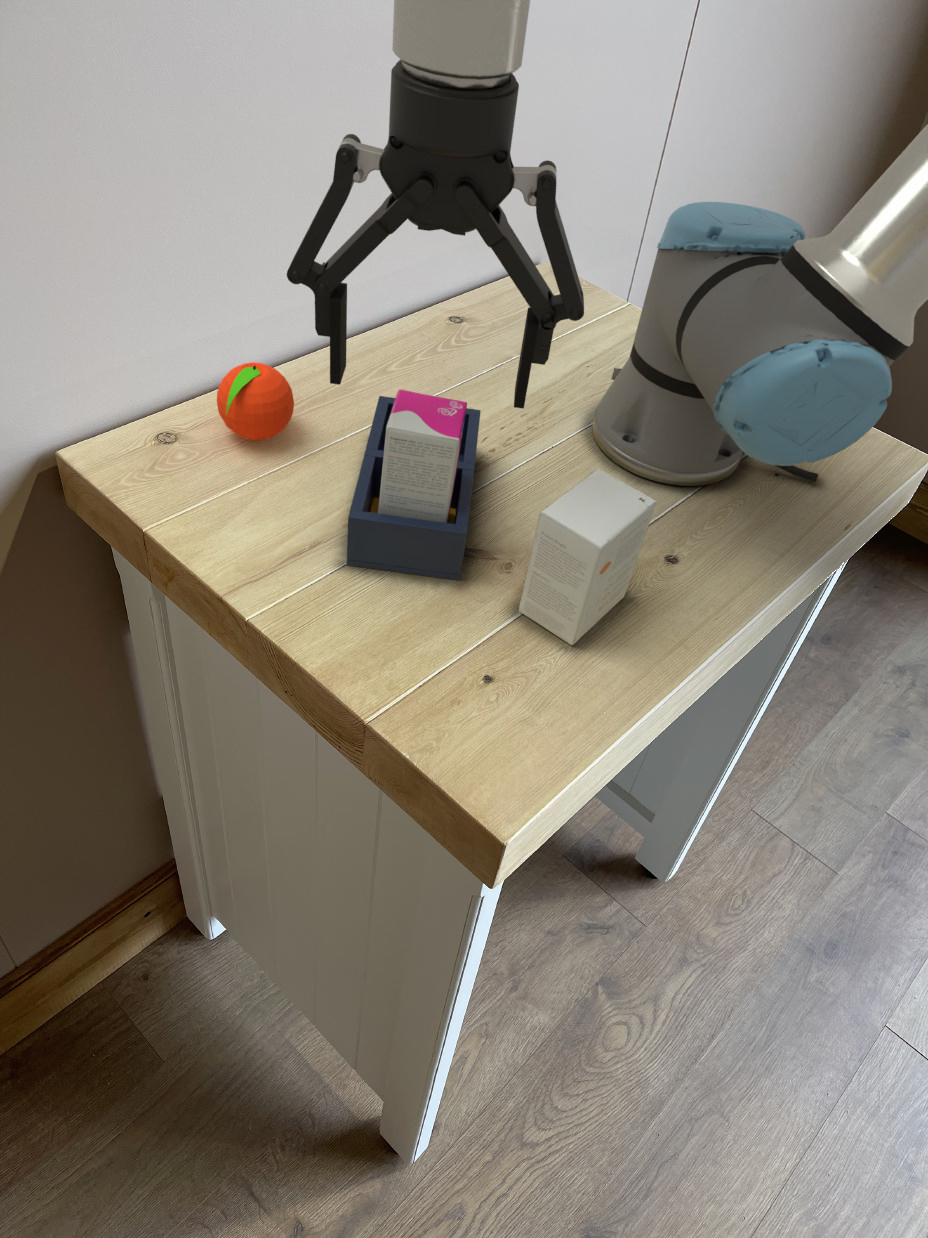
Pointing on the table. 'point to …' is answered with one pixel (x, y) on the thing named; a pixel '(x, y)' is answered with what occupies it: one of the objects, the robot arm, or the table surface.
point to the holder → (407, 538)
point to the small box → (584, 554)
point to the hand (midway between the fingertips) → (428, 386)
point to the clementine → (255, 401)
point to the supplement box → (421, 456)
